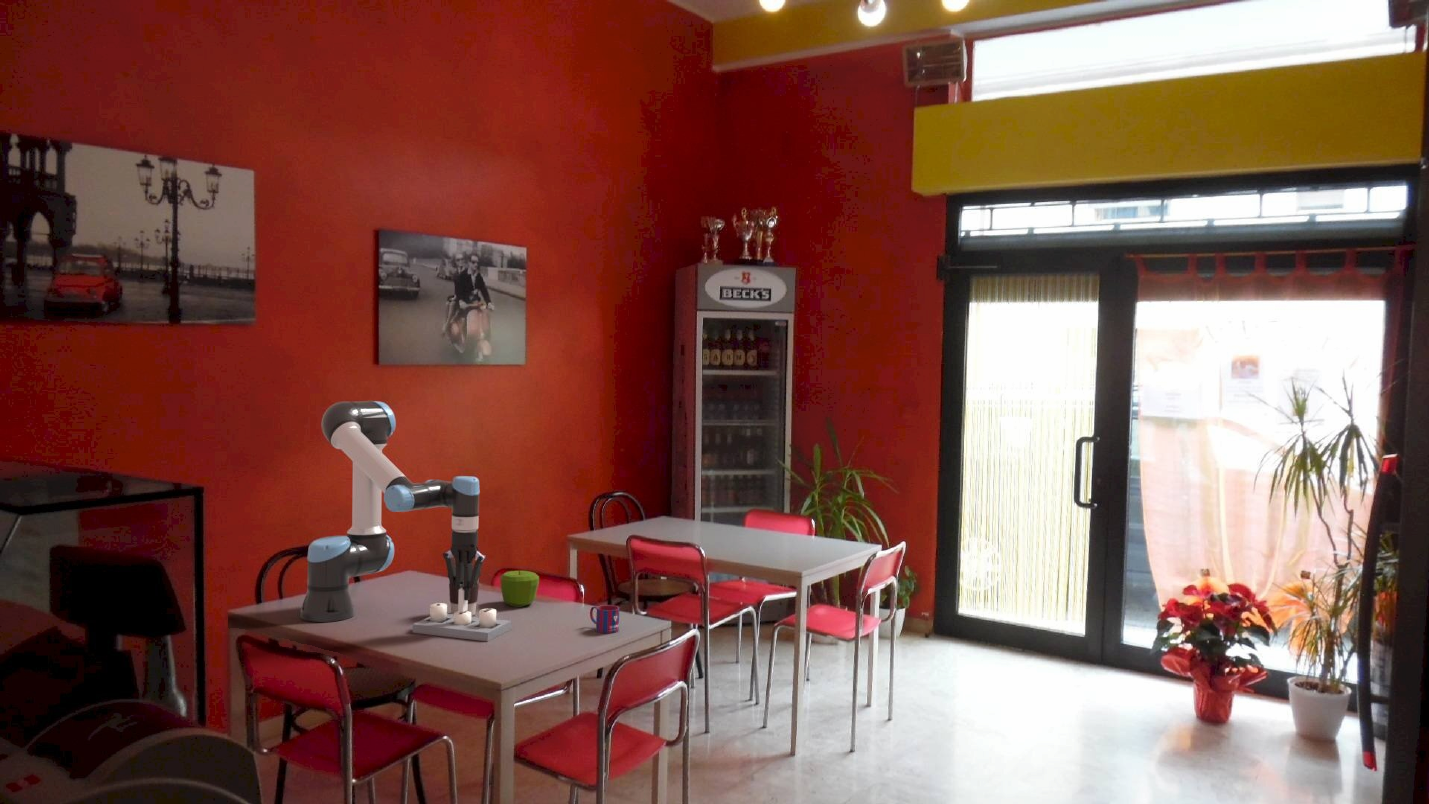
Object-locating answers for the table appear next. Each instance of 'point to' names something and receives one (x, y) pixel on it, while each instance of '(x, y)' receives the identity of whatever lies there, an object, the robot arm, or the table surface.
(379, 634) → the table surface
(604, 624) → the cup
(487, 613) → the button
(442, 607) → the button
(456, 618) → the button
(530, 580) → the apple
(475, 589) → the coffee cup
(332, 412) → the robot arm
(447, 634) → the console
